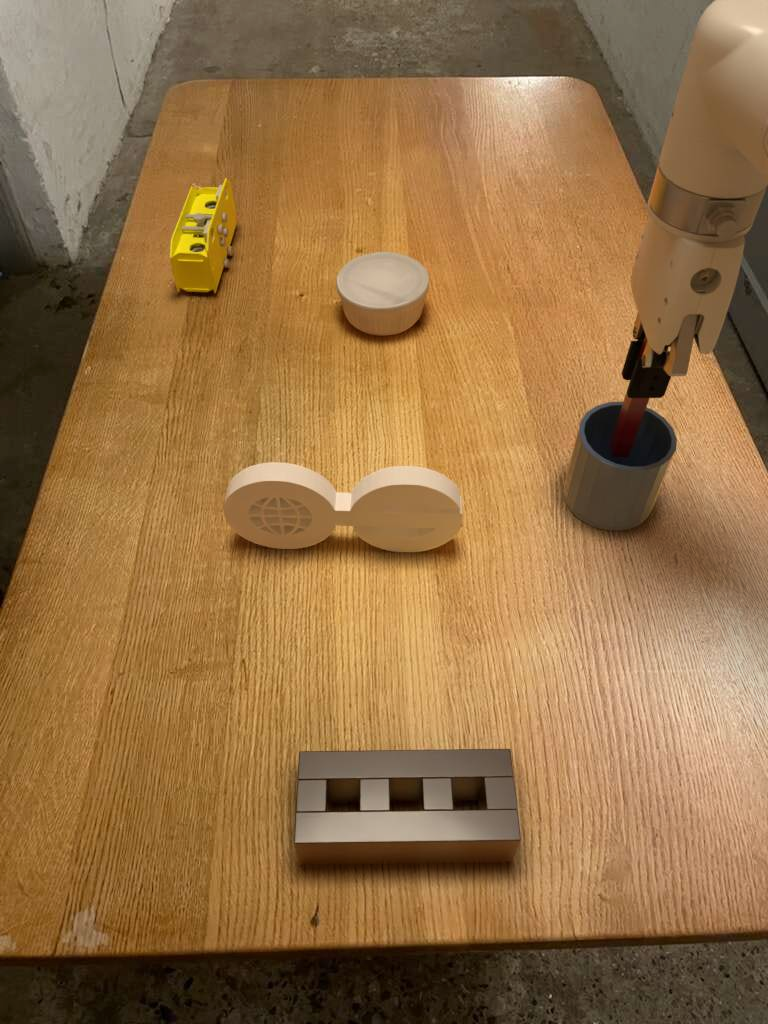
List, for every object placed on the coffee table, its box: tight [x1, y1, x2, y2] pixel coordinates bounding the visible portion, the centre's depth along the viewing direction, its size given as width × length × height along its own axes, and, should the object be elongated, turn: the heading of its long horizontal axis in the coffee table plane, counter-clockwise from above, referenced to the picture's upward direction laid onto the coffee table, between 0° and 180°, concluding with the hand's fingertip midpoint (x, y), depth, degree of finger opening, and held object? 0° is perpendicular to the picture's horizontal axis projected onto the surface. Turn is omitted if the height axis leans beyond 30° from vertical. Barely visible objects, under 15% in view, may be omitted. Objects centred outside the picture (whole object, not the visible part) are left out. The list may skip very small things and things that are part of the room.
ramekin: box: [335, 251, 430, 337], centre depth 102 cm, size 11×11×5 cm
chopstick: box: [609, 335, 669, 457], centre depth 75 cm, size 2×2×14 cm
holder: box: [293, 748, 522, 866], centre depth 63 cm, size 7×16×5 cm, turn 91°
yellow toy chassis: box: [169, 177, 238, 294], centre depth 108 cm, size 16×6×8 cm, turn 177°
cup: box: [562, 401, 678, 532], centre depth 82 cm, size 9×9×9 cm
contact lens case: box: [223, 461, 464, 553], centre depth 78 cm, size 22×2×10 cm, turn 88°
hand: (642, 385), depth 74 cm, fingers closed on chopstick, 1 cm apart
